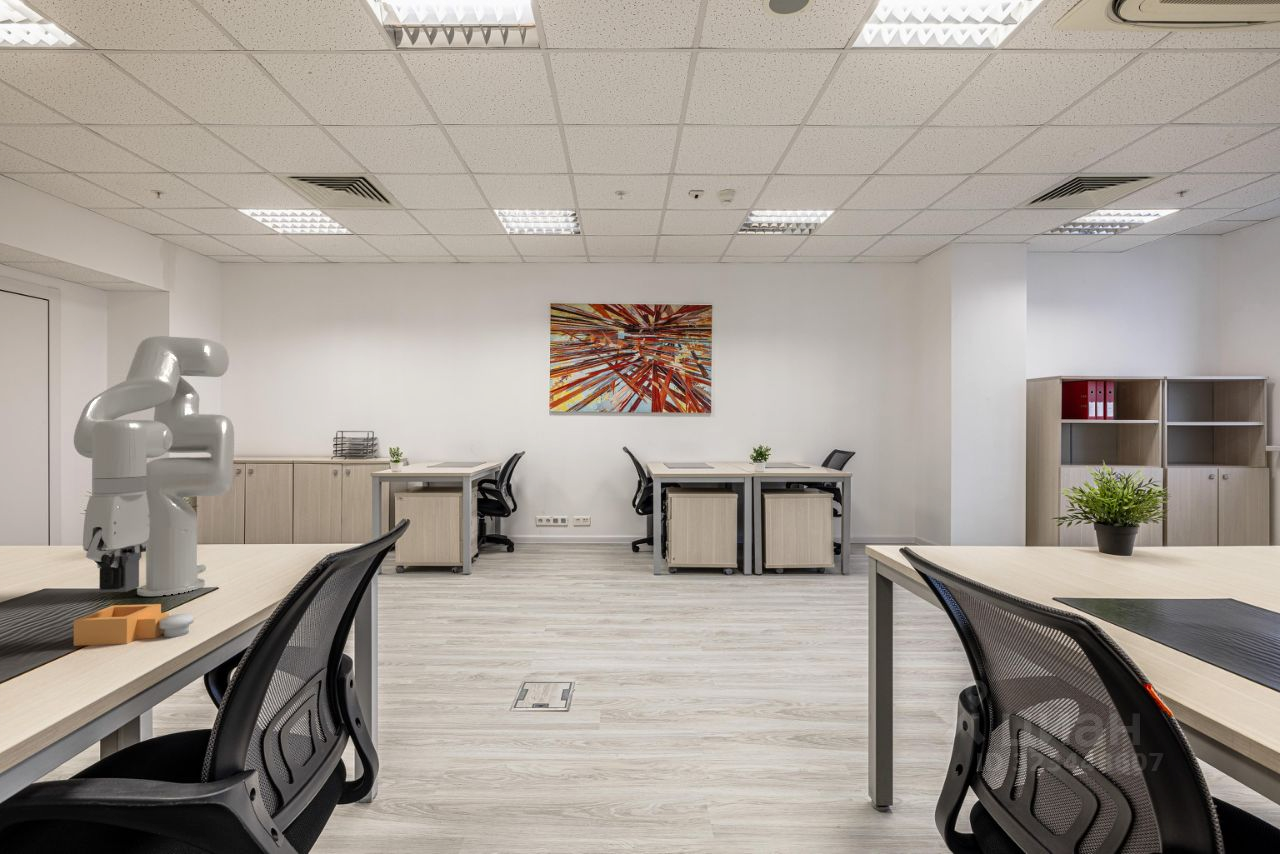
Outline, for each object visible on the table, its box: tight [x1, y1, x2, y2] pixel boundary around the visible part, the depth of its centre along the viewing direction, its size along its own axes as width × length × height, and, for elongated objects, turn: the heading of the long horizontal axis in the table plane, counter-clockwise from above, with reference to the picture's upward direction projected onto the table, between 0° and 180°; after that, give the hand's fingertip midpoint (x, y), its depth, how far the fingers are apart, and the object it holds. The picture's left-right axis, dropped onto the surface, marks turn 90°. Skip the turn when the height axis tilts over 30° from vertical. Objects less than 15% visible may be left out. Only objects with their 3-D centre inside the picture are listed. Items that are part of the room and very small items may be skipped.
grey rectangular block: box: [98, 552, 142, 593], centre depth 107 cm, size 3×5×6 cm, turn 97°
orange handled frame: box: [73, 603, 195, 647], centre depth 108 cm, size 17×9×4 cm, turn 97°
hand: (119, 585), depth 107 cm, fingers closed on grey rectangular block, 3 cm apart
